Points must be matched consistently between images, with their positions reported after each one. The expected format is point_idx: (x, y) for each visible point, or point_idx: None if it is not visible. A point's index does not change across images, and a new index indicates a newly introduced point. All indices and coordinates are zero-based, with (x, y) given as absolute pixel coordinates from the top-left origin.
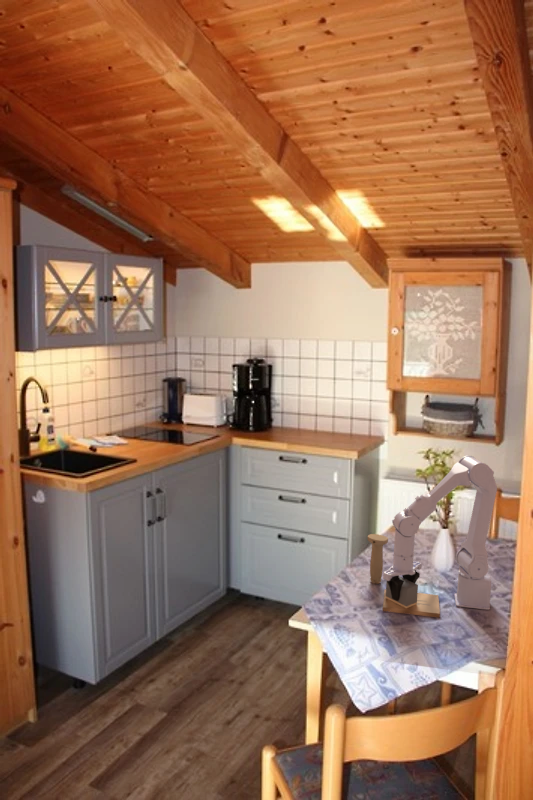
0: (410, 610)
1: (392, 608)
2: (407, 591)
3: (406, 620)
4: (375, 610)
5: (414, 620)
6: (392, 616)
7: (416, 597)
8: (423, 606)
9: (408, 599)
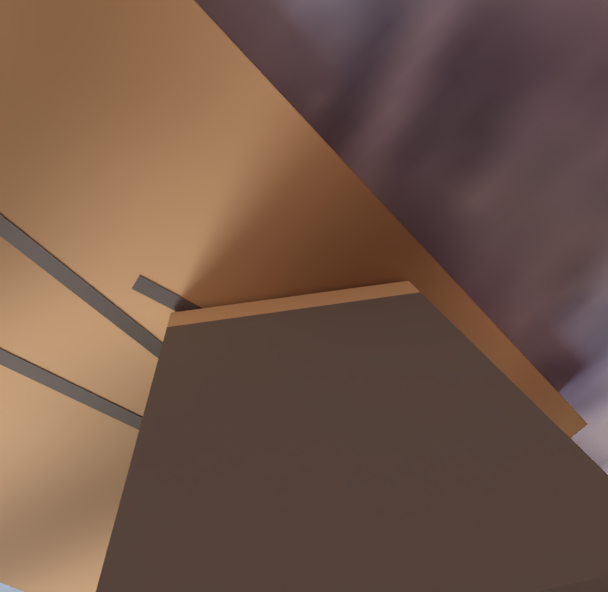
0: (389, 215)
1: (529, 362)
2: (601, 478)
3: (544, 94)
4: (592, 429)
5: (463, 27)
6: (580, 264)
7: (177, 373)
8: (111, 210)
9: (424, 348)
